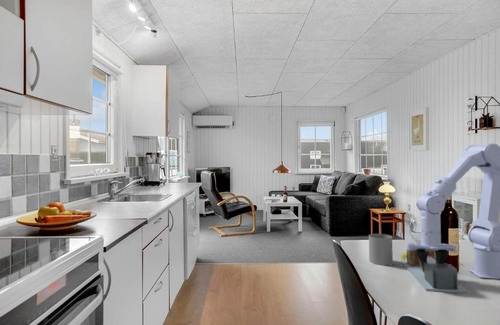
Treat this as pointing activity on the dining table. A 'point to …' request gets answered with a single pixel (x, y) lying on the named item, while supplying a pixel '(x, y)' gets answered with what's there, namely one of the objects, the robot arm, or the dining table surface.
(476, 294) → the dining table surface
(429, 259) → the bar
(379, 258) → the cup
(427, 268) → the sleeve
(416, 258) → the socket
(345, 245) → the dining table surface
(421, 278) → the board
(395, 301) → the dining table surface
